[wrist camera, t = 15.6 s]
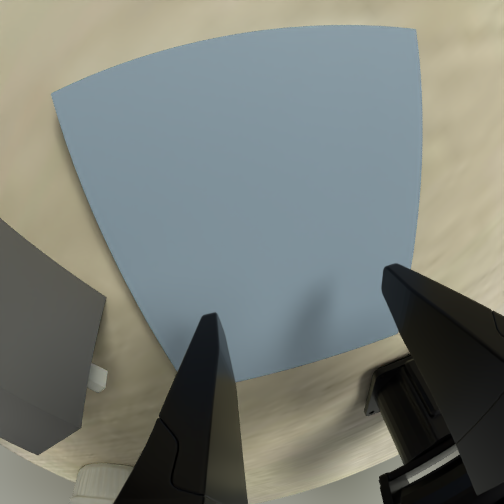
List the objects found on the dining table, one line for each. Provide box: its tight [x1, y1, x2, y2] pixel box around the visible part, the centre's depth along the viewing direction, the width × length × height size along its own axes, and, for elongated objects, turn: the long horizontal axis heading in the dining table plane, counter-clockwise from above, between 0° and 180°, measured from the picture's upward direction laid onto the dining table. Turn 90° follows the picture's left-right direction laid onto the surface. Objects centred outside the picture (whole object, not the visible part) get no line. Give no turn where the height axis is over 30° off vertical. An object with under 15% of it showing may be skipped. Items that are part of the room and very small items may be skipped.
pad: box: [51, 25, 422, 382], centre depth 11 cm, size 14×11×1 cm
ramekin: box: [69, 463, 134, 504], centre depth 22 cm, size 11×11×5 cm
